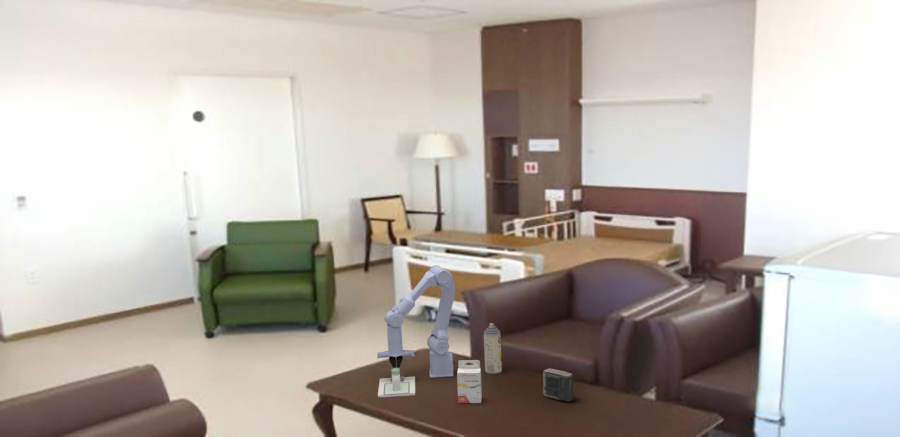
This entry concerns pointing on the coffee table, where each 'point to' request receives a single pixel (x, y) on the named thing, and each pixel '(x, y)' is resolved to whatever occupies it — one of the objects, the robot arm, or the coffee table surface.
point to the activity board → (406, 390)
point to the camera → (558, 384)
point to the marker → (396, 378)
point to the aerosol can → (492, 350)
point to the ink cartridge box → (469, 382)
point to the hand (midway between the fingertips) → (396, 374)
